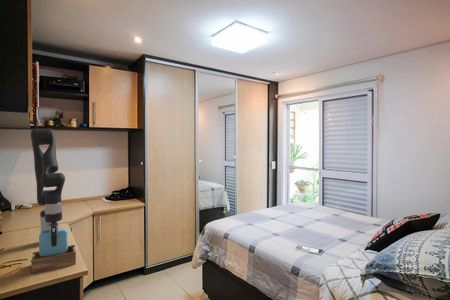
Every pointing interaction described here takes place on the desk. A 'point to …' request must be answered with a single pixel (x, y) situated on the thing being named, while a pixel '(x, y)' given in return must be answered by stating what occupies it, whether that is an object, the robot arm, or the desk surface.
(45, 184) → the robot arm
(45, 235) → the light blue flat block
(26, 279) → the desk surface
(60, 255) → the crate
